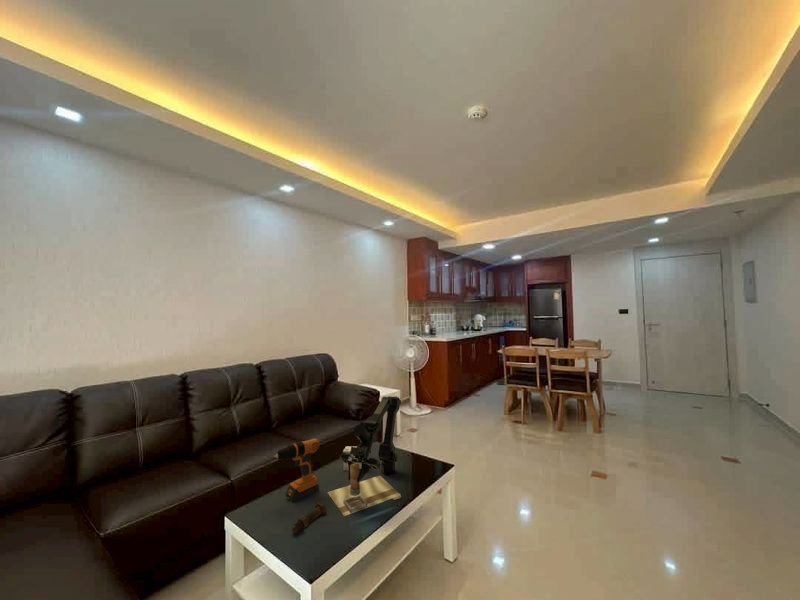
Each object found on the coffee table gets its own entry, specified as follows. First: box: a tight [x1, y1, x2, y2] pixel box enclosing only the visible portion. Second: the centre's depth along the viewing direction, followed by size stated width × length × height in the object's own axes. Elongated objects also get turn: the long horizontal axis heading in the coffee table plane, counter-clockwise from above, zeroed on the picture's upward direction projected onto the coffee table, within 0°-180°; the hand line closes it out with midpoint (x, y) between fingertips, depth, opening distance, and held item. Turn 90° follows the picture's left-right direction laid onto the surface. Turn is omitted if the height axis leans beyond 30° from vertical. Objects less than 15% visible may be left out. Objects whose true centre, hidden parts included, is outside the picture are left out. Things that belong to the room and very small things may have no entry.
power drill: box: [273, 438, 320, 502], centre depth 153 cm, size 22×7×25 cm, turn 134°
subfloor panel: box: [327, 475, 402, 517], centre depth 153 cm, size 28×21×3 cm
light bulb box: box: [342, 445, 363, 472], centre depth 180 cm, size 11×7×11 cm, turn 84°
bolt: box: [291, 501, 327, 534], centre depth 134 cm, size 6×5×15 cm
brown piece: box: [349, 463, 361, 496], centre depth 144 cm, size 4×4×12 cm
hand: (353, 481), depth 143 cm, fingers closed on brown piece, 4 cm apart
